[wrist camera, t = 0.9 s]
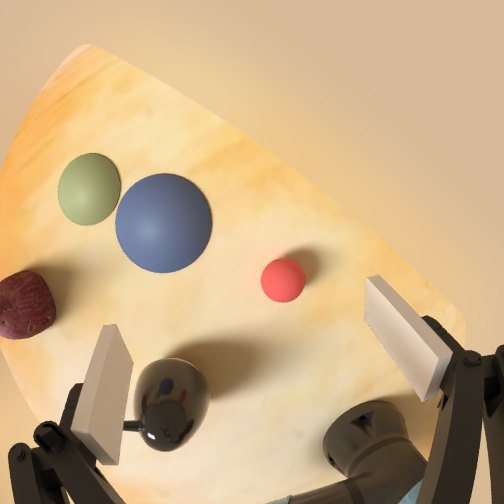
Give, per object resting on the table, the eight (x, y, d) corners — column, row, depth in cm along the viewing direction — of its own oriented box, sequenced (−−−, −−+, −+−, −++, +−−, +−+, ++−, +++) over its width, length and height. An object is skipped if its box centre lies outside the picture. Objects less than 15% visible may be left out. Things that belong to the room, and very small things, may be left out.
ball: (306, 265, 43) (317, 273, 37) (288, 302, 43) (297, 314, 38) (269, 249, 42) (276, 254, 37) (252, 286, 42) (255, 297, 37)
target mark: (227, 198, 41) (227, 197, 41) (187, 288, 42) (187, 288, 41) (139, 159, 39) (139, 159, 39) (102, 248, 40) (102, 248, 40)
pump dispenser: (145, 340, 42) (112, 394, 27) (217, 356, 43) (214, 418, 28) (139, 397, 43) (112, 460, 28) (205, 412, 44) (200, 480, 29)
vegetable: (35, 258, 42) (-16, 241, 28) (71, 307, 42) (23, 307, 28) (0, 300, 40) (-55, 296, 25) (33, 349, 40) (-19, 362, 25)
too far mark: (131, 168, 39) (131, 168, 39) (103, 236, 40) (102, 236, 40) (75, 144, 38) (74, 144, 38) (49, 209, 39) (48, 209, 39)
